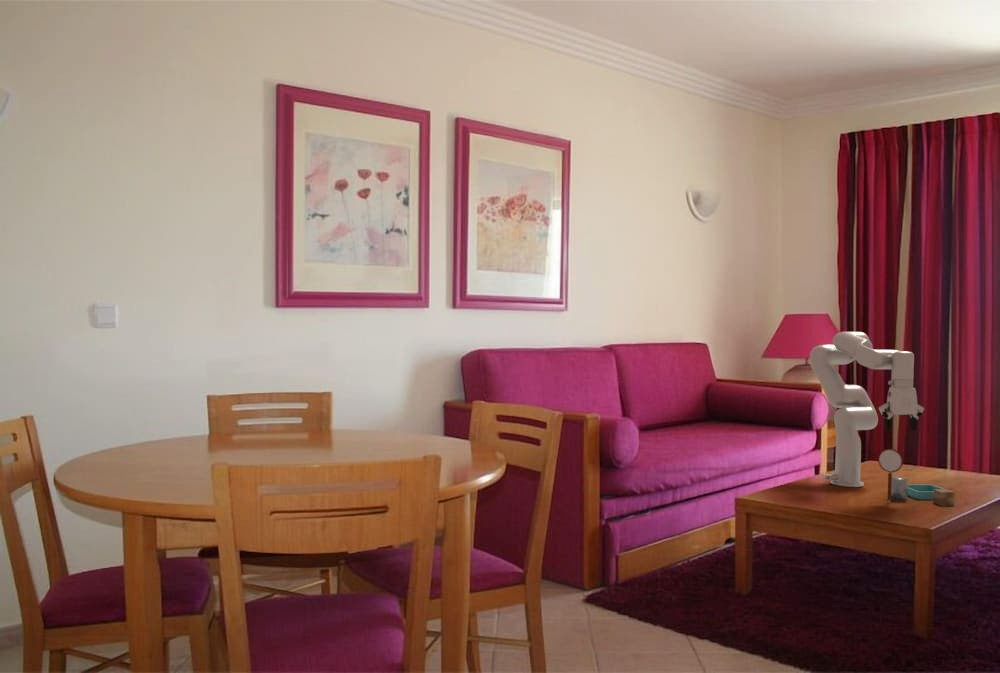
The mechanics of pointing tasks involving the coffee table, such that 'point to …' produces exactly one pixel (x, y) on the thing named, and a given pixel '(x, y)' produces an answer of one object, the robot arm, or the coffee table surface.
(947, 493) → the walnut block
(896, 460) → the magnifying glass
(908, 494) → the teal tray
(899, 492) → the metal tin
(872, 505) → the coffee table surface
